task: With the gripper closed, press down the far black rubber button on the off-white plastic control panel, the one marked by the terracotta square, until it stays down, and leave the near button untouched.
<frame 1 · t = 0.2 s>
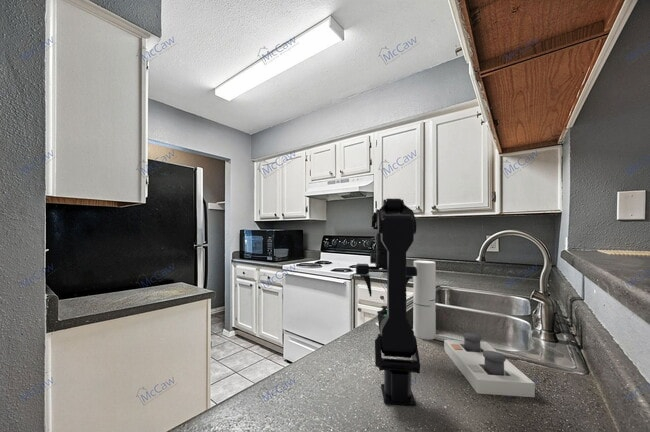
hand: (385, 296, 89), 14 cm above the countertop, tool pointing down, fingers open, 9 cm apart
cylindrical container: (424, 335, 95), on the countertop
controller: (388, 341, 90), on the countertop
far button: (472, 343, 79), point 4 cm above the countertop, slide at 0.0 cm
panel: (482, 369, 72), on the countertop
near button: (494, 364, 67), point 4 cm above the countertop, slide at 0.0 cm
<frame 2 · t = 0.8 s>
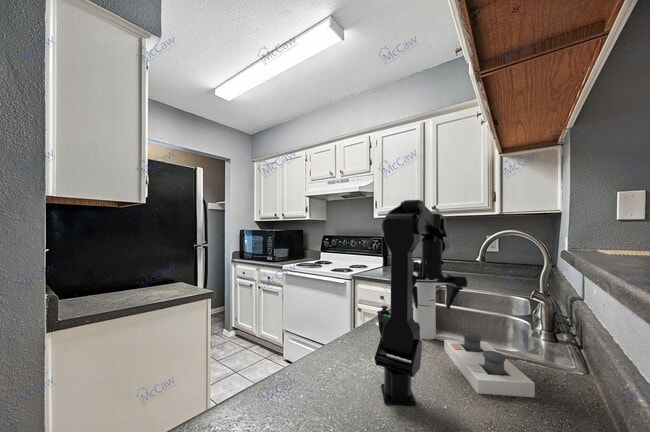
hand: (431, 308, 83), 13 cm above the countertop, tool pointing down, fingers open, 9 cm apart
nothing on the countertop moved.
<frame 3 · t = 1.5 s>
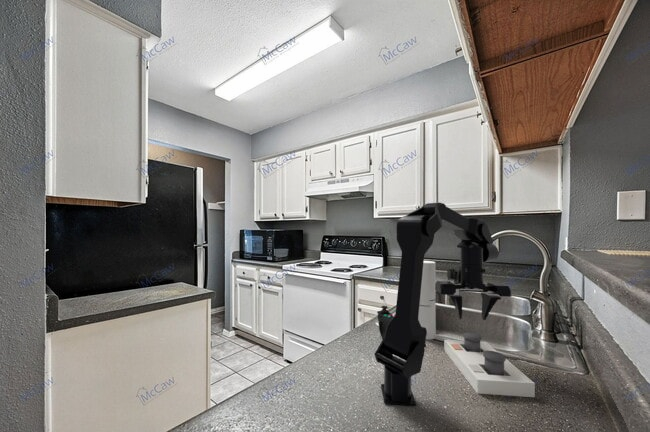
hand: (471, 319, 79), 11 cm above the countertop, tool pointing down, fingers open, 6 cm apart
nothing on the countertop moved.
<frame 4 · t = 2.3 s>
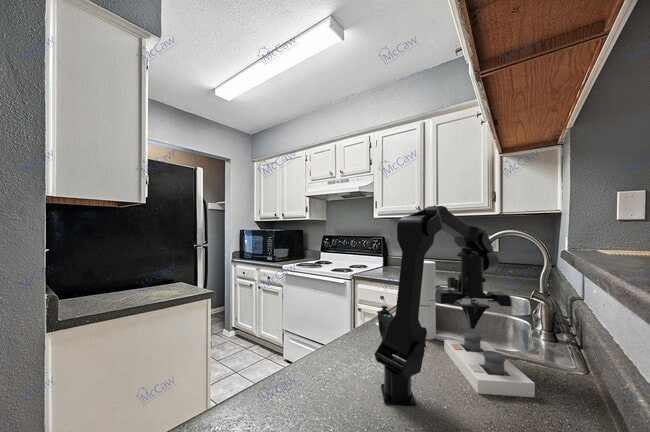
hand: (471, 328, 79), 9 cm above the countertop, tool pointing down, fingers closed
nothing on the countertop moved.
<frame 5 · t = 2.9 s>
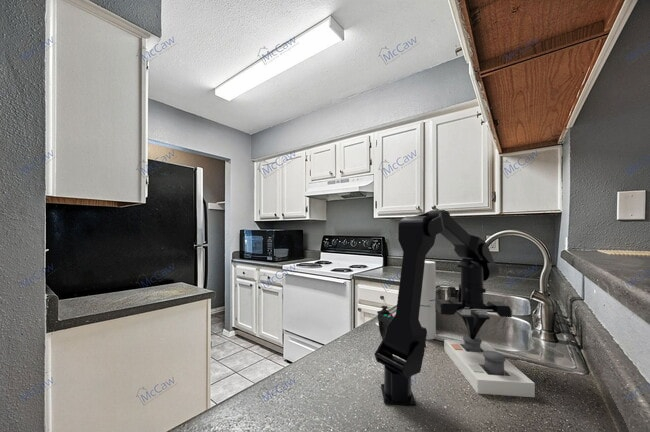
hand: (472, 338, 79), 6 cm above the countertop, tool pointing down, fingers closed, pressing on far button
far button: (472, 346, 79), point 3 cm above the countertop, slide at 0.9 cm, touching gripper
everything else where it was.
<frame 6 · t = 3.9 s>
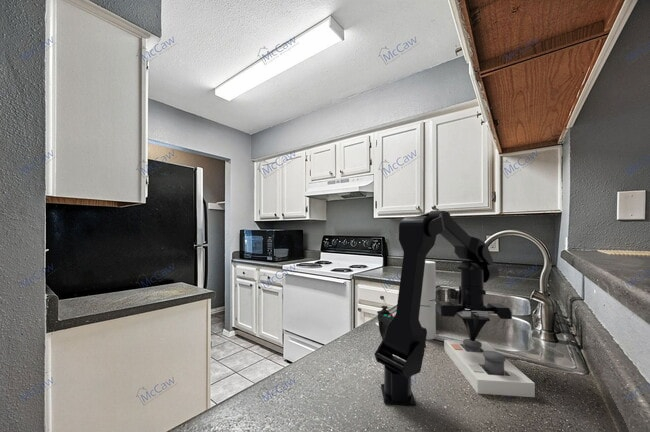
hand: (472, 340, 79), 5 cm above the countertop, tool pointing down, fingers closed
far button: (472, 350, 79), point 2 cm above the countertop, slide at 1.9 cm
everything else where it was.
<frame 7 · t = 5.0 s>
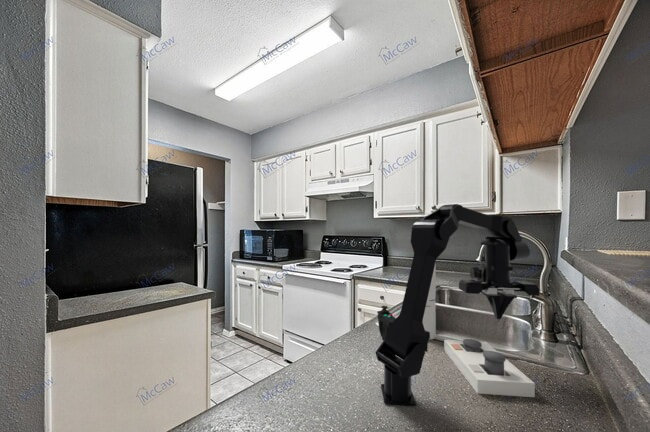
hand: (497, 318, 76), 12 cm above the countertop, tool pointing down, fingers closed
nothing on the countertop moved.
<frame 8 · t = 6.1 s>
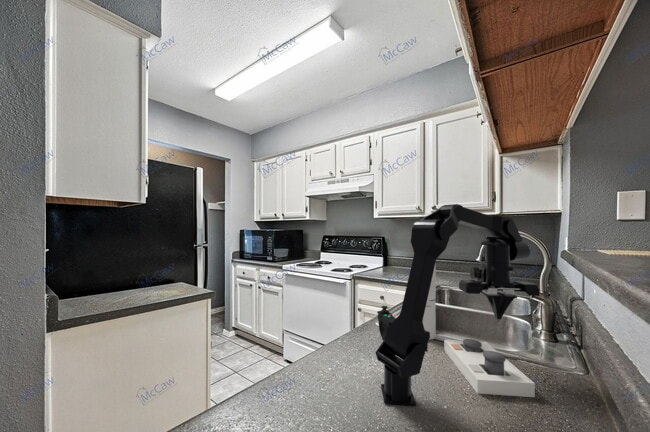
hand: (498, 319, 76), 12 cm above the countertop, tool pointing down, fingers closed
nothing on the countertop moved.
at the end: far button slide at 1.9 cm; near button slide at 0.0 cm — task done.
